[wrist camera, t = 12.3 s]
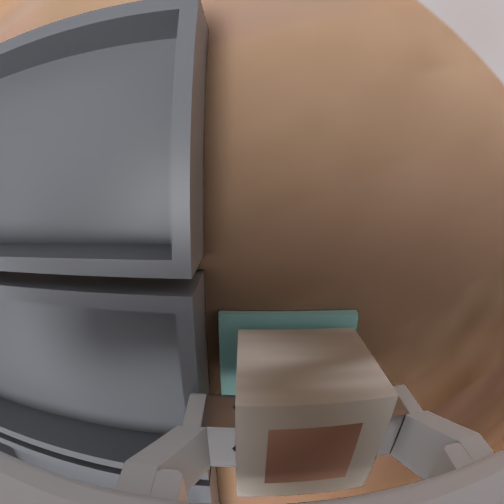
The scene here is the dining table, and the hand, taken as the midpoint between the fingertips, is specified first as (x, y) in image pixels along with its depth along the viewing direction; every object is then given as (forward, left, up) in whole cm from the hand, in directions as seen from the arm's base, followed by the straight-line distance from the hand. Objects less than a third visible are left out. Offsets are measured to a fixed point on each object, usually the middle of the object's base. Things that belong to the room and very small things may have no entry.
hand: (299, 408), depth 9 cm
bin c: (+10, -8, -3) cm, 13 cm away
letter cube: (0, 0, -2) cm, 2 cm away
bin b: (+10, 0, -3) cm, 11 cm away
